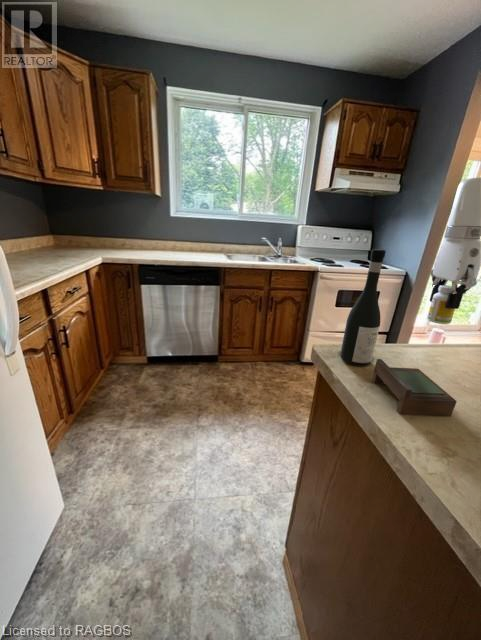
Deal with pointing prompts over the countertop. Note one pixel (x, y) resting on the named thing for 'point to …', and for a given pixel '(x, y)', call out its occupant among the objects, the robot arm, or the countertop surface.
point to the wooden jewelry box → (414, 391)
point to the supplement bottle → (441, 306)
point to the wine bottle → (364, 318)
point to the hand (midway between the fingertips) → (443, 304)
